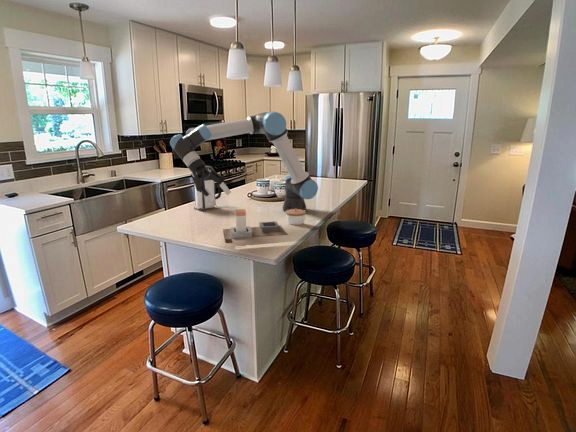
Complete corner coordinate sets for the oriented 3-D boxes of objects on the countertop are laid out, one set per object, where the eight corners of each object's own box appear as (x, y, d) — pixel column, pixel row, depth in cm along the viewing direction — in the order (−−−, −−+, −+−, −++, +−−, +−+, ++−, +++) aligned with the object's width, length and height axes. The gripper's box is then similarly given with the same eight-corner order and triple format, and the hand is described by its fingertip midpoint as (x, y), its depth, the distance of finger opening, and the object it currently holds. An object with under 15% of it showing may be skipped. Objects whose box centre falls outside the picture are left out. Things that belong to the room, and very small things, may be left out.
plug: (245, 232, 164) (244, 209, 161) (246, 235, 160) (245, 211, 157) (236, 233, 163) (235, 209, 160) (236, 236, 159) (236, 212, 156)
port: (249, 231, 167) (249, 226, 167) (252, 237, 158) (252, 232, 158) (230, 232, 165) (230, 227, 164) (232, 238, 156) (231, 233, 156)
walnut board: (280, 227, 178) (280, 225, 177) (288, 237, 163) (288, 234, 162) (223, 231, 171) (223, 229, 170) (225, 242, 156) (225, 239, 155)
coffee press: (216, 211, 209) (213, 163, 201) (190, 211, 209) (187, 163, 201) (222, 205, 226) (220, 160, 218) (198, 205, 226) (195, 160, 218)
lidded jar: (293, 229, 175) (293, 212, 173) (281, 224, 184) (281, 207, 181) (309, 226, 181) (309, 209, 179) (297, 221, 190) (297, 205, 187)
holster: (276, 225, 176) (276, 221, 175) (279, 230, 168) (279, 226, 167) (259, 227, 174) (259, 222, 173) (262, 232, 166) (262, 227, 165)
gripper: (205, 163, 176) (231, 195, 175) (172, 172, 154) (201, 208, 154) (213, 154, 172) (239, 186, 172) (181, 162, 151) (210, 198, 150)
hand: (221, 197), depth 163 cm, fingers open, 13 cm apart
